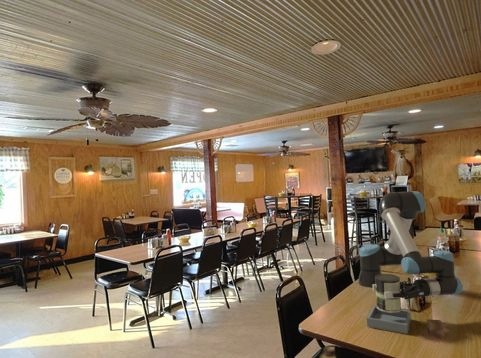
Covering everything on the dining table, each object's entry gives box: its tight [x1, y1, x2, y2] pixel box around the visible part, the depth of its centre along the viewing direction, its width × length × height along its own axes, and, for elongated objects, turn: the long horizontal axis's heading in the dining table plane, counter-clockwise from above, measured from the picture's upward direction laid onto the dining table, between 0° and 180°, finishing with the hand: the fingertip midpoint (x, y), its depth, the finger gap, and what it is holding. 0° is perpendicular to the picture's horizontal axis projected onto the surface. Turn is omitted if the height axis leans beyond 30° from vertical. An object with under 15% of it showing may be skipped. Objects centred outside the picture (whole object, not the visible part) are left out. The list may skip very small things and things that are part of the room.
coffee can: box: [375, 273, 402, 313], centre depth 147 cm, size 10×10×14 cm
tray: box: [366, 305, 412, 335], centre depth 147 cm, size 16×16×4 cm
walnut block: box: [426, 318, 445, 339], centre depth 134 cm, size 5×5×5 cm
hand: (378, 291), depth 146 cm, fingers closed on coffee can, 10 cm apart
